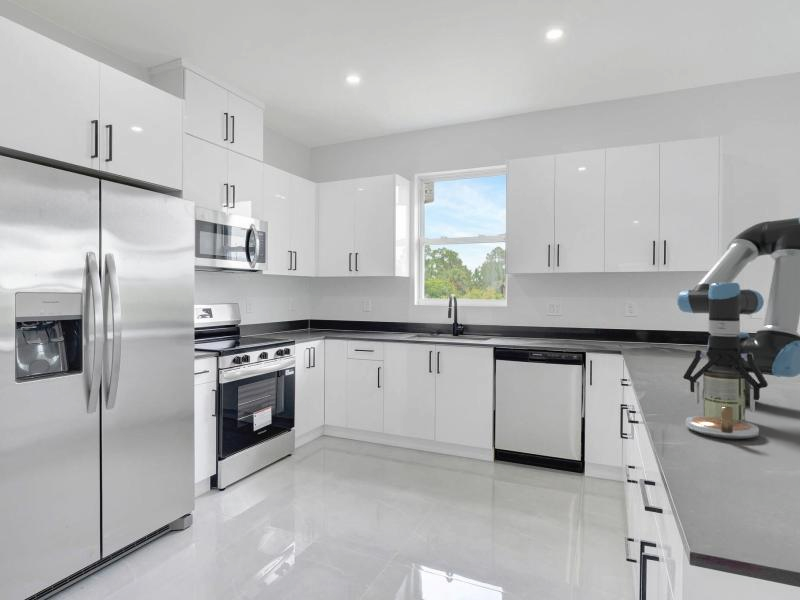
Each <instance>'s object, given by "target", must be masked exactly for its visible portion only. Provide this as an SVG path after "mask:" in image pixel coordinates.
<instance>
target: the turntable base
mask: <svg viewBox="0 0 800 600" xmlns="http://www.w3.org/2000/svg"><path fill="white" fill-rule="evenodd" d="M700 433H701V432H699V433H698V434H700ZM703 434H704V433H701V435H703ZM706 435H708V436H707V437H710V436H711V437H712V438H715V437H716V438H715V439H723V440H731V441H733V440H734V441H735V440H736V441H737V440H746V439H747V440H748V438H729V437H720V436H714V435H709V434H705V435H704V436H706Z"/></svg>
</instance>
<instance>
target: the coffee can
mask: <svg viewBox="0 0 800 600" xmlns="http://www.w3.org/2000/svg"><path fill="white" fill-rule="evenodd" d="M702 376H703V378H702V379H703V388H704V398H703V416H718V417H721V407H722V406H727V407H732V408H733V419H738V420H742V421H746V404H745V378H744V375H742V374H740V373H739V372H738V371H732V370H719V369H709V370H707V371H703V375H702Z"/></svg>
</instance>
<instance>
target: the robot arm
mask: <svg viewBox="0 0 800 600" xmlns="http://www.w3.org/2000/svg"><path fill="white" fill-rule="evenodd" d="M765 255H766V256H768V255H769V256H770V258H771V259H773V261H774V266H773V272H772V275H771V276H772V278H771V283H770V287H769V293H768V294H769V295H768V298H767V304H766V305H767V306H766V309H765V310H766V311H765V316H764V321H763V326H762V328H759V329H758V330H756V333H755V337H751V336H750V335H749V333H747V332H743V333H742V332H741V333H740V331H741V330H740V327H741V320H740V319H741V318H740V315H747V316H749V315H753V314H756V313H759V312H760V311H761V309H762V308H763V306H764V302H765V301H764V300H765V299H764V297H763V295H762V294H761V293H760V292H758V291H756V290H753V289H750V288H749V289H745V288H744V289H741V285H740V284H739V283H737V282H734V280H735V279H736V278H737V277H738V275H739V274H741V272H742V271H743V269H744V268H745V267H746V266H747V265H748V263H752V262H754V261H755V260H756V259H757V258H758V257H761V256H765ZM676 303H677V306H678V309H679V310H680V311H681V312H683V313H692V314H708V333H709V334H710V335H709V336H708V340H707V341H708V342H707V348H706V349H707V350H702V349H696V350H695V356H694V358H693V360H692V362H691V363H690V365H689V366H688V368H687V370H686V371H685V373H684V375H683V376H682V377H683V379H684V380H687V381H689V382H690V383H689V384H690V387H689V389H690V392H691V393H694V394H693V395H694V396H693V398H694V399H693V404H694V405H698V404H700V381H697V380H698V379H699V378H701V377H702V376H703V371H707V370H709V369H719V370H732V371H738V372H739V373H740V374H742V375H744V378H745V405H749V412H750V413H754V412H755V411H756V408H755V407H756V405H755V404H756V401H759V400H760V398H761V396H760V394H761V391H760V389H762V388H767V387H768V386H769V383H768V381H767V380H766V378H765V376H764V375H767V376H774V377H777V378H783V377H785V378H794V377H797V376H799V375H800V334H799V333H798V328H799V324H800V323H799V322H800V321H799V320H800V216H799V217H795V218H786V219H780V220H779V219H778V220H769V221H767V220H766V221H763V222H759V223H756V224H754V225H751V226H750V227H748V228H746V229H745V230H743V231H742V232H740V233H739V234H737V235H736V236H735V237H734V238H733V239H732V240H731V241H730V242H729V243H728V244H727V247H726V251H725V253H723V254H722V256H721V257H720V258H719V259H718V260H717V261H716V263H715V264H714V265H713V266H712V267H711V268H710V270H709V271H708V272H707V273H706V274H705V276H703V278H702V279H701V280H700V281H699V282H698V283H697V285H696V286H695V287H694V288H693V289H687V290H682V291H680V292H679V293H678V296H677V301H676ZM705 356H707V362H706V364H705V365H704V366H702V368H700V369H699V370H698V371H697V372H696V373H695V374H693V372H694V371H695V369H696V368H697V367H698V364H699V363H700V362H701V359H702V358H704V357H705ZM750 373H751V374H754V375H755V378H756V379H757V380H758V381H756V380H755V379H754V377H753V376H752V375H751V374H750ZM692 374H693V375H692ZM758 382H759V383H758ZM701 393H702V394H701V395H702V396H701V398H702V399H704V387H703V388H702V391H701Z"/></svg>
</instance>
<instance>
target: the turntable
mask: <svg viewBox="0 0 800 600" xmlns="http://www.w3.org/2000/svg"><path fill="white" fill-rule="evenodd" d="M685 427H686V428H687V429H690V430H691V431H695V432H696V431H697V432H696V433H698V432H701V433H704V434H709V435H714V436H720V437H729V438H747V439H752V438H756V437H758V436H760V428H759V426H758V425H756V424H754V423H752V422H749V421H747V420H745V421H742V420H738V419H733V408H732V407H727V406H722V407H721V417H718V416H704V415H691V416H687V417H686V418H685Z"/></svg>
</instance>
